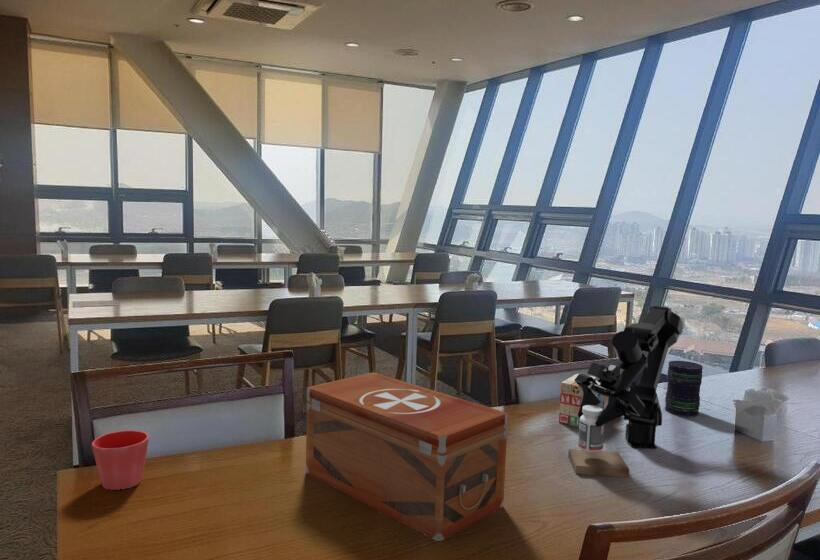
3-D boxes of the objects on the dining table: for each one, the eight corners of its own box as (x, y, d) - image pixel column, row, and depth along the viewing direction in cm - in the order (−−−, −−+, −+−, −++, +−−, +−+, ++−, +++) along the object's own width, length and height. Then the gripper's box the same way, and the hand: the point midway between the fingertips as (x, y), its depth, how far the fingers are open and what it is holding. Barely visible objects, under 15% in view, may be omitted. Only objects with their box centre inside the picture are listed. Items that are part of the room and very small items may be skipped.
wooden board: (617, 459, 152) (618, 452, 152) (628, 477, 143) (629, 468, 142) (568, 456, 153) (568, 449, 153) (575, 473, 143) (576, 465, 143)
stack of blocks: (584, 405, 195) (587, 367, 194) (604, 409, 192) (607, 370, 190) (558, 423, 178) (560, 381, 177) (579, 428, 175) (582, 385, 173)
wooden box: (371, 449, 155) (373, 371, 152) (505, 507, 127) (510, 413, 124) (304, 472, 140) (305, 387, 138) (439, 544, 112) (444, 438, 110)
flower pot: (94, 476, 135) (93, 433, 133) (149, 469, 139) (148, 427, 138) (91, 497, 125) (89, 451, 124) (149, 489, 129) (149, 444, 128)
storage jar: (668, 404, 199) (672, 359, 197) (701, 411, 193) (706, 364, 191) (660, 412, 191) (664, 364, 189) (695, 419, 185) (699, 370, 183)
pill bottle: (604, 446, 149) (607, 406, 148) (600, 454, 144) (603, 413, 143) (580, 442, 152) (582, 402, 150) (575, 450, 146) (578, 409, 145)
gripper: (582, 341, 155) (544, 389, 152) (639, 359, 138) (598, 413, 135) (604, 369, 159) (568, 416, 156) (662, 389, 143) (623, 442, 139)
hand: (587, 421), depth 146 cm, fingers closed on pill bottle, 6 cm apart
